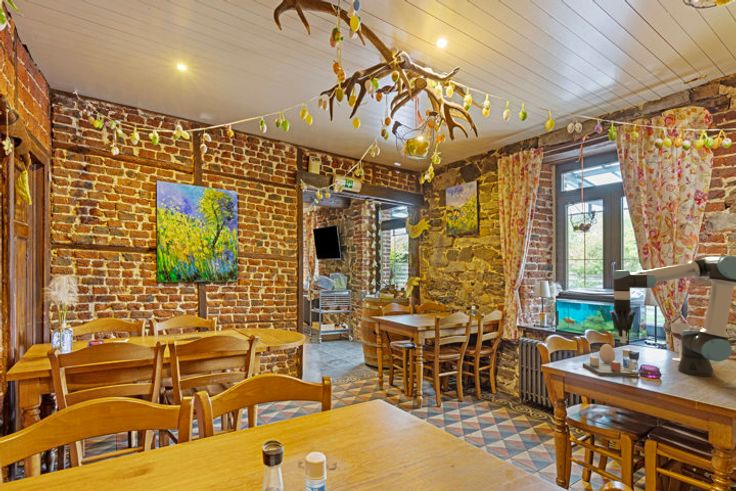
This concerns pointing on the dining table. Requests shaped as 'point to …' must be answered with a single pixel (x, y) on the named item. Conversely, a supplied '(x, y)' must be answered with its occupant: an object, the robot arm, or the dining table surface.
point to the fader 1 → (594, 361)
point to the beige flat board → (606, 370)
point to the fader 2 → (615, 366)
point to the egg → (607, 354)
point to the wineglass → (678, 334)
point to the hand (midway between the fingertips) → (623, 342)
